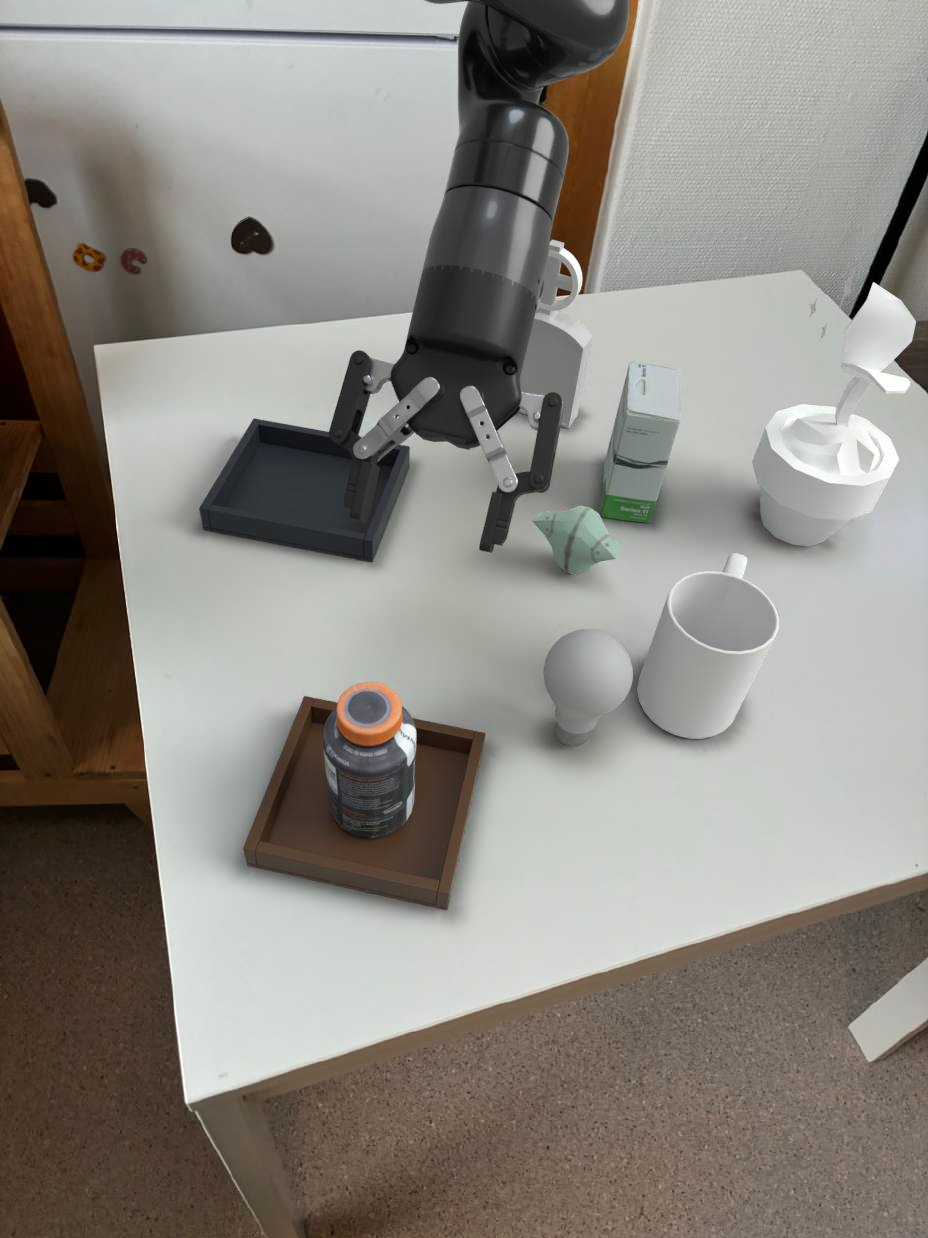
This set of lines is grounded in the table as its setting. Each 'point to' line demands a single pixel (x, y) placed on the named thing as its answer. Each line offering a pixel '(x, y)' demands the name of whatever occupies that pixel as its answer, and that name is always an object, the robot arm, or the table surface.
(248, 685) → the table surface
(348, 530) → the far tray
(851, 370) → the potted plant
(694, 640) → the mug
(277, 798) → the near tray
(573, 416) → the gravestone
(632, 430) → the ink box
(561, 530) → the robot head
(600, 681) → the lightbulb
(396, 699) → the pill bottle
